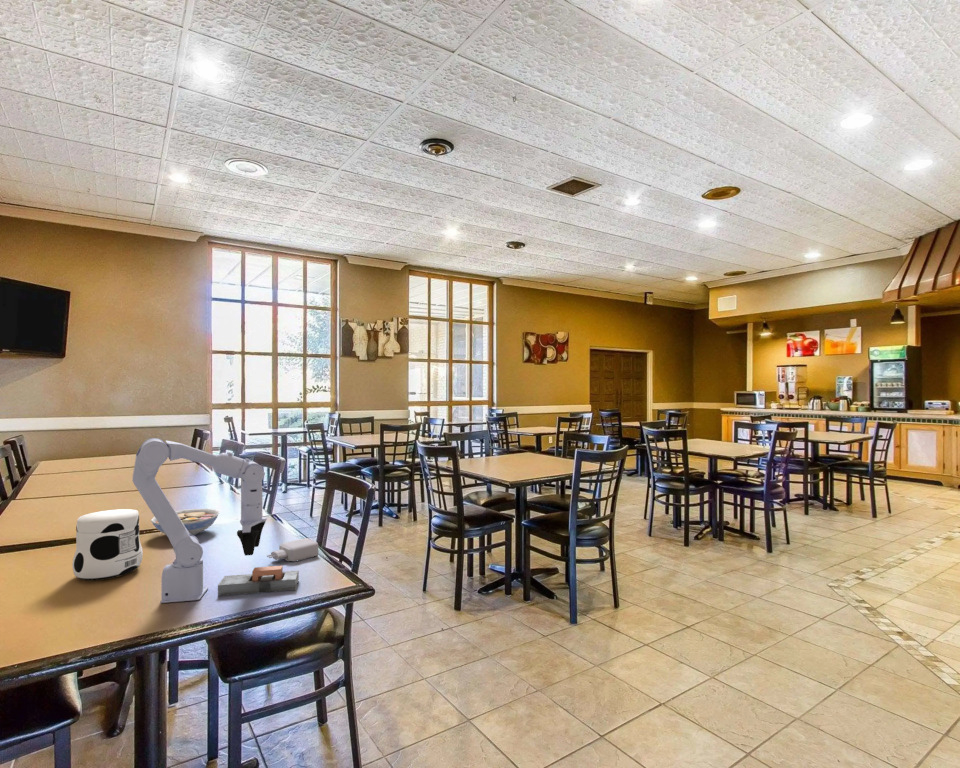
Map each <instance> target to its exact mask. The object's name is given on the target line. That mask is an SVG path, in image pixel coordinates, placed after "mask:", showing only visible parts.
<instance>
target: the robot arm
mask: <svg viewBox="0 0 960 768" xmlns="http://www.w3.org/2000/svg"><path fill="white" fill-rule="evenodd" d="M233 454H234V453H233V452H230V451H228V452H227V453H226V452H221V453H219V454H213V453H210V452H207V451H204V450H201V449H198V448H196V447H193V446H190V445H187V444H184V443H181V442H176V441H173V440H162V439H161V438H157V437H151V438H147V439H146V440H144V441H143V442H142V443H141V444H140V446H139V448H138V450H137V452H136V454H135V461H134V467H133V473H132V482H133V484H134V486H135V488H136V489H137V491H138V492H139V494H140V495H141V496H140V497H142V499H143V501H144V502H145V504H146V505H147V506H148V508H149V510H150V511H151V513H152V515H153V516H154V517H155V518H156V519H157V521H158V522H159V524H160V526H161V527H162V529H163V530H164V532H165V533H166V534H165V535H166V537H167V538H168V540H169V542H170V544H171V546H172V548H173V552H174V554H175V559H174V561H172V563H171V564H166V565H164V567H163V569H162V573H161V600H160V604H165V603H166V604H167V603H177V602H189V601H192V602H193V601H199V600H201V598H202V597H203V596H204V595H205V593H206V592H207V591H208V590H209V588H208V586H206V587H205V586H204V577H203V576H204V559H203V555H204V550H203V547H202V546H201V544H200V540H199V538H198V537H197V536H196V535H194V536H193V535H191V534H190V533H189V532H188V530H187V529H186V527H185V526H184V524H183V523H182V521H181V520H180V518H179V516H178V515H177V513H176V512H175V511H176V509H175V508H174V507H173V506H172V504H171V502H170V500H169V499H168V497H167V495H166V494H165V492H164V491H163V490H162V488H161V485H159V482H158V481H157V479H156V476H157V474H158V472H159V469H160V468H161V466H163V464H164V463H165V462H166V461H167V459H169V462H170V461H175V460H180V459H184V460H189V461H192V462H194V463H200V464H203V465H207V466H210V467H212V470H213V472H214V473H215V474H216V473H217V474H221V475H224V476H227V477H230V478H233V479H237V480H239V479H241V488H240V520H239V523H240V525H241V528H242V529H238V530H237V531H236V536H237V537H238V538H239V541H240V543H241V545H242V547H241V548H242V551H243V554H244V556H253V554H254V552H255V548H258V547H259V545H260V541H261V536H262V532H263V529H264V526H265V524H266V523H267V521H268V518H267V517H266V516H263V480H264V478H265V476H266V475H265V473H266V472H265V470H264V468H263V466H261V465H260V464H259V463H258V462H255V461H253V460H250V458H246V457H245V458H241V457H238V456H235V455H233Z"/></svg>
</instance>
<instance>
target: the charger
mask: <svg viewBox="0 0 960 768" xmlns="http://www.w3.org/2000/svg"><path fill="white" fill-rule="evenodd" d="M278 547H279V548H278V550H272V551H271V552H270V554H267V555H266V557H267V558H269V559H273V560H275V561H278V560H281V559H283V560H285V561H287V562H289V561H295V562H298V561H297V560H299V561H302V559H303V560H307V559H310V557H311V558H314V556H315V557H318V556H319V543H318V542H317V541H315V540H313V539H311V538H308V537H305V538H300V539H296V540H291V541H287V542H283V543H280V544H279V546H278ZM306 558H307V559H306Z"/></svg>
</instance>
